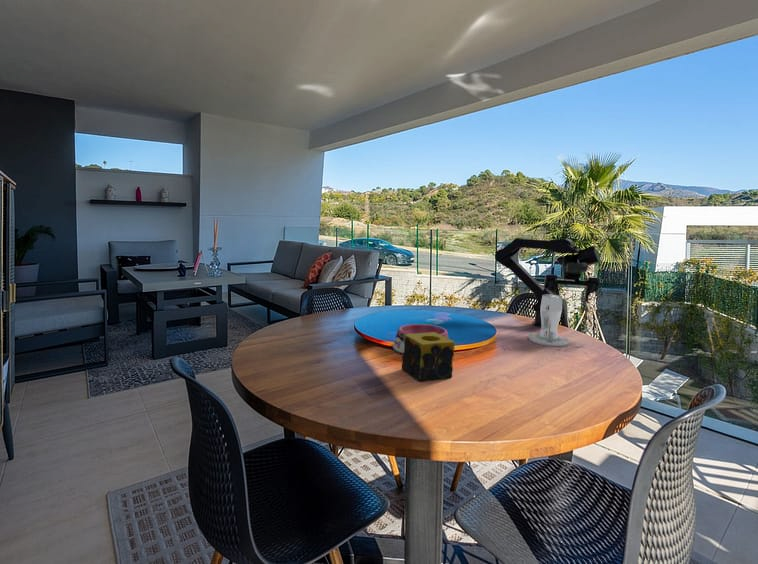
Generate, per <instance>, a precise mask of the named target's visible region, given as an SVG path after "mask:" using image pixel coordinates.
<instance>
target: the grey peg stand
mask: <svg viewBox="0 0 758 564" xmlns="http://www.w3.org/2000/svg"><path fill="white" fill-rule="evenodd" d="M553 333H554V332H551V331H549V332H548V339H544V338H541V337H540V336H539V334H540V332H535V333H533V332H532V333H529V335H528V340H529V341H530V342H531V343H534V344H538V345H542V346H546V347H559V348H560V347H566V346H568V345H569V339H568V338H566V337H564V336H561V335H558V338H557V339H555V340H553Z"/></svg>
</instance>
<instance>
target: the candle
mask: <svg viewBox="0 0 758 564" xmlns="http://www.w3.org/2000/svg"><path fill="white" fill-rule="evenodd" d="M455 344H456V343H455V341H454V340H452V339H450V338H449V339H448V338H446V337H444V336H442V335H440V334H438V333H436V332H430V333H414V334H404V353H403V355H402V361H401V362H402V363H401V370H403V371H404V372H405V373H407V374H408V375H409V376H411V377H412V378H414V379H415V380H416V381H417V382H421V383H422V382H430V381H437V380H438V381H439V380H444V379H452V378H453V370H454V369H453V361H454V353H455Z"/></svg>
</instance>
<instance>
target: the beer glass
mask: <svg viewBox="0 0 758 564" xmlns="http://www.w3.org/2000/svg"><path fill="white" fill-rule="evenodd" d="M540 312H541V326H540V332H539V333H540V334H539V336H540V337H541V338H544V339H548V332H549V331H551V332H554V333H553V340H555V339H557V338H558V336H559V335H558V327H559V322H560V319H561V316H562V312H563V296H562V295H560V294H559V295H553V294H543V295H542V301H541V309H540Z"/></svg>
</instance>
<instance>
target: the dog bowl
mask: <svg viewBox="0 0 758 564" xmlns="http://www.w3.org/2000/svg"><path fill="white" fill-rule="evenodd" d="M430 332H436V333H438V334H440V335H442V336H444V337H446V338H448V339H450V337H449V334H448V330H447V329H446V328H444V327H441V326H438V325H433V324H427V323H426V324H425V323H414V324H413V323H412V324H405V325H401V326H399V327H398V330H397V331H396V336H395V339H394V342H393V344H392V345H393V346H392V350H393V351H394V352H396V354H399V355H401V356H403V353H404V334H414V333H430Z"/></svg>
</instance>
